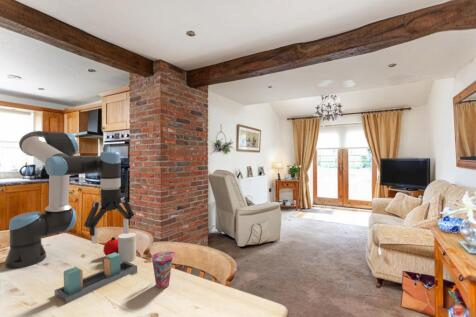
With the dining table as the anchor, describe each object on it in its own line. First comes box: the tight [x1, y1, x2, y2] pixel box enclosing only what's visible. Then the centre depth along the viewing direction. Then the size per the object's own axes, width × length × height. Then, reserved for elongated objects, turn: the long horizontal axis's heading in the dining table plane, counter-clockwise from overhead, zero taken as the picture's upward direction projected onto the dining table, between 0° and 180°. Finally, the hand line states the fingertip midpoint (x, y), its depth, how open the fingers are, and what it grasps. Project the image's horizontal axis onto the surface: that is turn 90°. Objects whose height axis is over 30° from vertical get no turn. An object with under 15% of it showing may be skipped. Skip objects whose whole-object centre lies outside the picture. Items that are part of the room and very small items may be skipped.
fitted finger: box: [63, 266, 84, 295], centre depth 89 cm, size 4×5×9 cm
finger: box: [103, 253, 121, 278], centre depth 102 cm, size 4×5×9 cm
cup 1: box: [117, 232, 137, 263], centre depth 121 cm, size 8×8×12 cm
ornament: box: [102, 236, 118, 256], centre depth 123 cm, size 9×9×10 cm
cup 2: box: [150, 251, 176, 289], centre depth 97 cm, size 9×8×12 cm
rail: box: [54, 261, 138, 305], centre depth 98 cm, size 9×28×3 cm, turn 148°
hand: (111, 237), depth 102 cm, fingers open, 13 cm apart
